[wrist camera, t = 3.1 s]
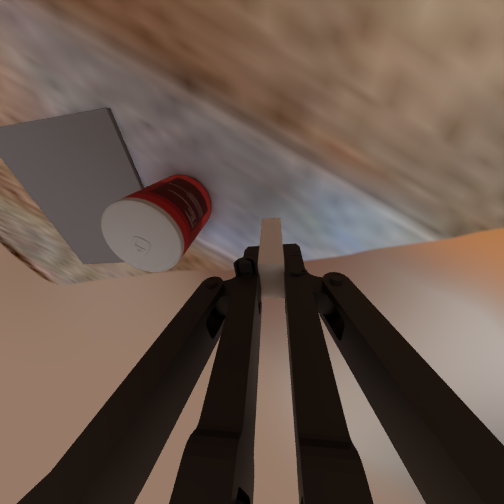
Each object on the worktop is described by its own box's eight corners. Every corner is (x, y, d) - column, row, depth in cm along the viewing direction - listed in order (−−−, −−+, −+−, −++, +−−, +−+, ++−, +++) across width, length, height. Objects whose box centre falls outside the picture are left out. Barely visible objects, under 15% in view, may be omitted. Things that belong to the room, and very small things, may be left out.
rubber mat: (-14, 130, 23) (-21, 130, 23) (109, 108, 21) (105, 107, 20) (86, 262, 35) (83, 264, 34) (173, 258, 32) (172, 260, 32)
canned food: (160, 220, 28) (108, 263, 19) (158, 165, 24) (89, 188, 15) (209, 233, 29) (180, 280, 20) (216, 182, 24) (183, 213, 15)
